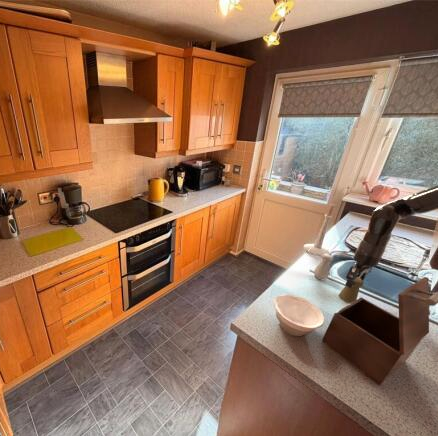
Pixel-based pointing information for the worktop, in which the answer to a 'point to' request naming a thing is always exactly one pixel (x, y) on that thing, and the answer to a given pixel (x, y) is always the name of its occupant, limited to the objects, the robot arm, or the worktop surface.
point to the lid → (414, 313)
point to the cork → (351, 291)
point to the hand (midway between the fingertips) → (353, 283)
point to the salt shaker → (323, 267)
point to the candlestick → (321, 237)
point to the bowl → (297, 315)
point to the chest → (367, 339)
